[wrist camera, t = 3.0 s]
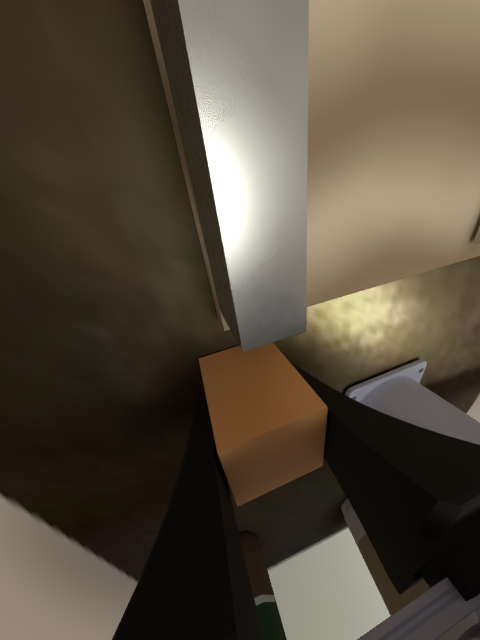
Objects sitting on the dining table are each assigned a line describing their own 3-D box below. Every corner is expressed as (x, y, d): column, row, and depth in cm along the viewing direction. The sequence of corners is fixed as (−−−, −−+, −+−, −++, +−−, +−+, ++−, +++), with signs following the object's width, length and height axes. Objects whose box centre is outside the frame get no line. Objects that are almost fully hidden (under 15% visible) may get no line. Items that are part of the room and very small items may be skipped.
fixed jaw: (265, 298, 8) (305, 331, 6) (219, 310, 8) (242, 352, 6) (215, -197, 4) (319, -1157, 1) (98, -225, 3) (-153, -1796, 1)
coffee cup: (393, 487, 33) (537, 659, 20) (335, 526, 32) (445, 729, 19) (391, 460, 27) (595, 680, 14) (320, 507, 26) (464, 781, 13)
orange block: (273, 386, 13) (322, 466, 9) (214, 408, 12) (237, 506, 8) (268, 336, 11) (327, 407, 7) (198, 358, 10) (217, 452, 6)
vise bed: (526, 230, 14) (561, 231, 13) (217, 316, 10) (224, 331, 9) (676, -72, 9) (765, -123, 7) (98, -190, 4) (64, -378, 3)
